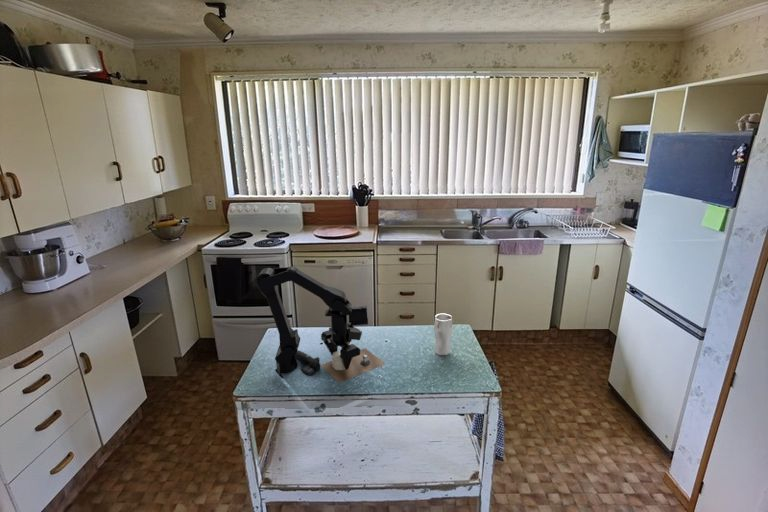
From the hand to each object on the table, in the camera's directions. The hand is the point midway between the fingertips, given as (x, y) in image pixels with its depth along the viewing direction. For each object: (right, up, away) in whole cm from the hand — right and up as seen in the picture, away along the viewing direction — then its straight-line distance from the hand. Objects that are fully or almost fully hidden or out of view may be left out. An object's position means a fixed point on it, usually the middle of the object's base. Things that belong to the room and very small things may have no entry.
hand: (340, 364), depth 143 cm
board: (+4, -1, +1) cm, 5 cm away
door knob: (+9, -1, +2) cm, 9 cm away
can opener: (-14, -2, +3) cm, 14 cm away
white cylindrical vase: (+39, +2, +11) cm, 41 cm away
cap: (0, -1, 0) cm, 1 cm away
